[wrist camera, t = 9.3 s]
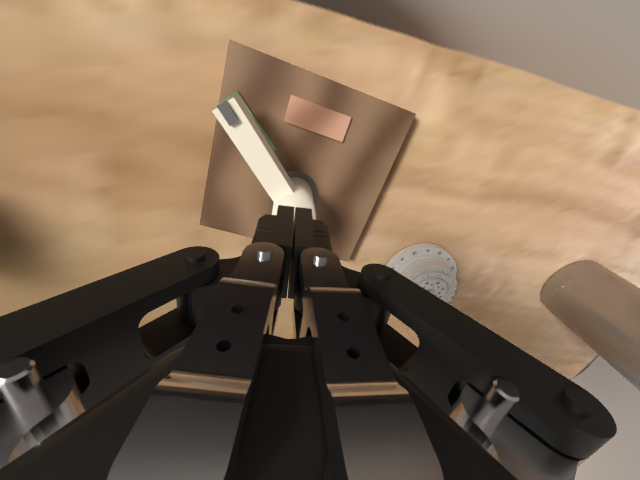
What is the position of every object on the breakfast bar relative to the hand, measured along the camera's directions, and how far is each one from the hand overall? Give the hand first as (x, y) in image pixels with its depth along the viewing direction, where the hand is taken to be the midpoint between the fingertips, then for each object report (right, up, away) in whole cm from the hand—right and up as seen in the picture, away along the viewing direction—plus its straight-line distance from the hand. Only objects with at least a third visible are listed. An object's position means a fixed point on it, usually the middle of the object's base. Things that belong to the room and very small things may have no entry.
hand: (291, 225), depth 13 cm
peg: (-4, +7, +16) cm, 18 cm away
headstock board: (-1, +7, +18) cm, 19 cm away
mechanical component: (+15, -5, +27) cm, 31 cm away
